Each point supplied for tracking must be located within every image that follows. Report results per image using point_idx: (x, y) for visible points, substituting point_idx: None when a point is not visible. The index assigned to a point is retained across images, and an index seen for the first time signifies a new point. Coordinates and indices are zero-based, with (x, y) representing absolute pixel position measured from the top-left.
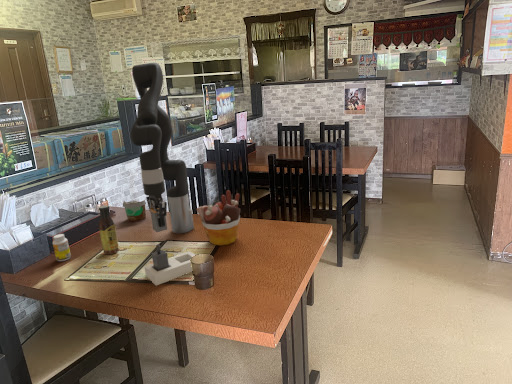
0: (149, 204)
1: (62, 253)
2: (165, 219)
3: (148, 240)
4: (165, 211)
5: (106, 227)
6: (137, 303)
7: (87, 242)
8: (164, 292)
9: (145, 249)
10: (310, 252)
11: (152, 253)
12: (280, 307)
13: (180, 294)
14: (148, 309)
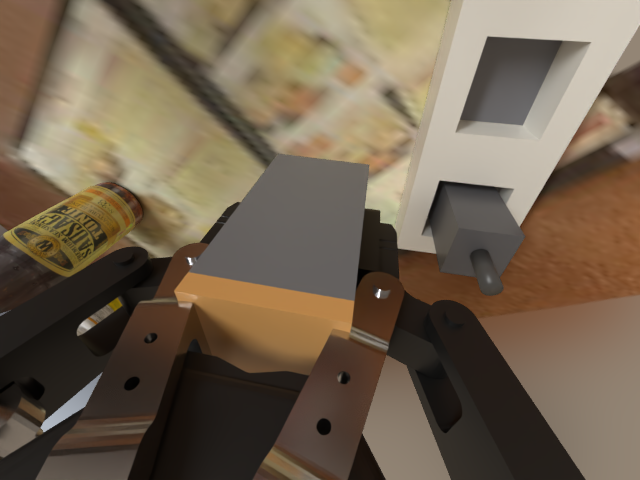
0: (90, 377)
1: (119, 306)
2: (362, 221)
3: (40, 35)
4: (509, 391)
5: (56, 280)
6: (512, 302)
7: (7, 212)
8: (554, 242)
9: (153, 106)
10: None
11: (446, 271)
12: None
13: (636, 221)
14: (572, 304)
